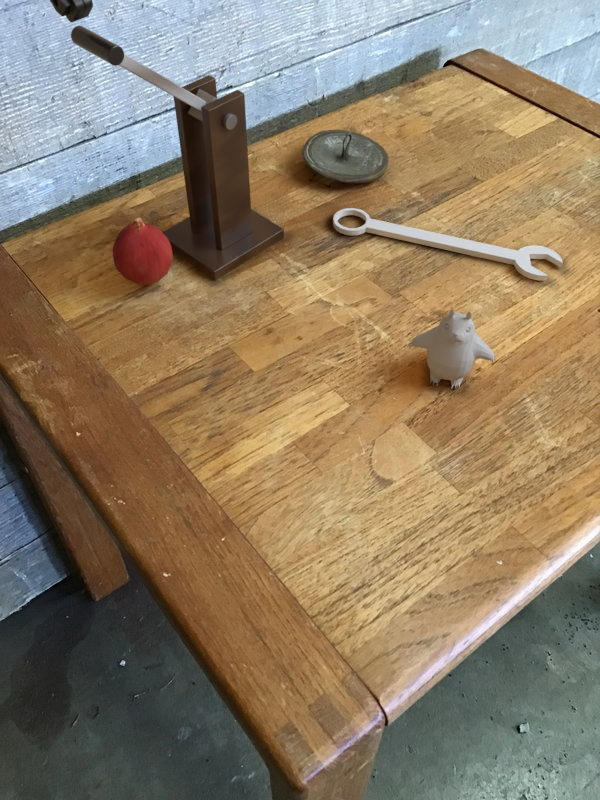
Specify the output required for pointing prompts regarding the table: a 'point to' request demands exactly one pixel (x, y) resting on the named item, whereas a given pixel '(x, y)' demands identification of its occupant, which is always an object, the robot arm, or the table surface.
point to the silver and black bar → (138, 68)
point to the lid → (345, 156)
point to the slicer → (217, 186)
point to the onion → (142, 253)
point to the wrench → (453, 243)
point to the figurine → (452, 348)
